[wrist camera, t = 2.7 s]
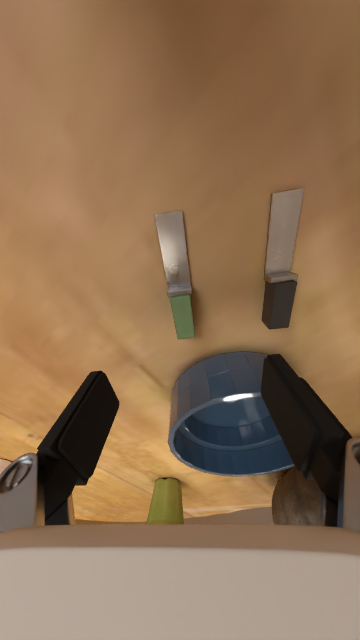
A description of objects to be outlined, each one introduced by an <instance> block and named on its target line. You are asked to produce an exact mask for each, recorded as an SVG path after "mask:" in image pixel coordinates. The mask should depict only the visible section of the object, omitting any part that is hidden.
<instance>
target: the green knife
mask: <svg viewBox="0 0 360 640" xmlns="http://www.w3.org/2000/svg"><path fill="white" fill-rule="evenodd" d="M154 216H155V221H156V226H157V232H158V237H159V242H160V247H161V253H162V258H163V263H164V268H165V274H166V279H167V284H168V292H167V294H168V297H171V298H170V301H171V306H172V311H173V317H174V322H175V327H176V332H177V338H178V339H186V338H195V330H194V322H193V314H192V306H191V298H190V294H192V290H191V281H190V273H189V265H188V257H187V248H186V240H185V232H184V224H183V215H182V210H180V211H175V212H169V213H164V214H158V215H154Z"/></svg>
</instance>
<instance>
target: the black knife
mask: <svg viewBox="0 0 360 640" xmlns="http://www.w3.org/2000/svg"><path fill="white" fill-rule="evenodd" d="M303 193H304V188H299V189H294V190H289V191H283V192H278V193H273V194H272V196H271V207H270V217H269V228H268V238H267V249H266V260H265V270H264V280H266V284H265V294H264V304H263V314H262V322H263V323H264V324H265V325H266V326H267V327H268V328H269V329H278V328H287V327H289V322H290V317H291V312H292V307H293V302H294V296H295V291H296V286H297V281H294V280H297V277H298V274H296V273H293V272H290V270H291V264H292V258H293V252H294V247H295V241H296V235H297V229H298V223H299V217H300V211H301V205H302V199H303Z"/></svg>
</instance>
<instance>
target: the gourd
mask: <svg viewBox="0 0 360 640" xmlns="http://www.w3.org/2000/svg"><path fill="white" fill-rule="evenodd" d="M321 499H322V492H321V491H320V489H319V487H318V485H317V483H316V481H315V479H313V480H305V478H304V476H303V474H302V472H301V471H298V470H297V469H296V467H295V466H293V467H291V469H290V470H289V472H288V473H287V474H285V475H284V476H282V478H281V479H280V480H279V481H278V483H277V484H276V487H275V489H274V492H273V498H272V515H273V521H274V525H308V526H319V518H320V508H321Z"/></svg>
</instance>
